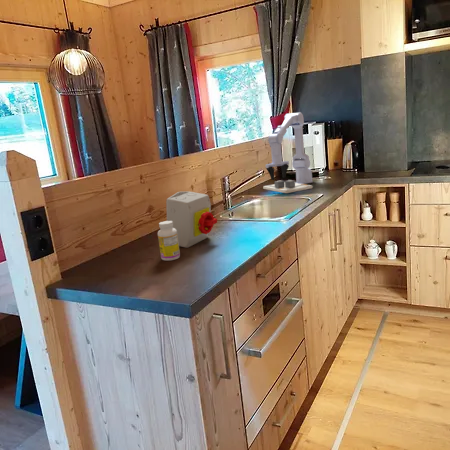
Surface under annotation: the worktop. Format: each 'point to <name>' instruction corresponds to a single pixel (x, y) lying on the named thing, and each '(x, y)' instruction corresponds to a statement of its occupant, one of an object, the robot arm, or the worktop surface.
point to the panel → (287, 190)
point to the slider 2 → (289, 183)
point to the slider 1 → (279, 184)
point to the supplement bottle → (168, 241)
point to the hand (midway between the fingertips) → (278, 178)
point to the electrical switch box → (190, 217)
